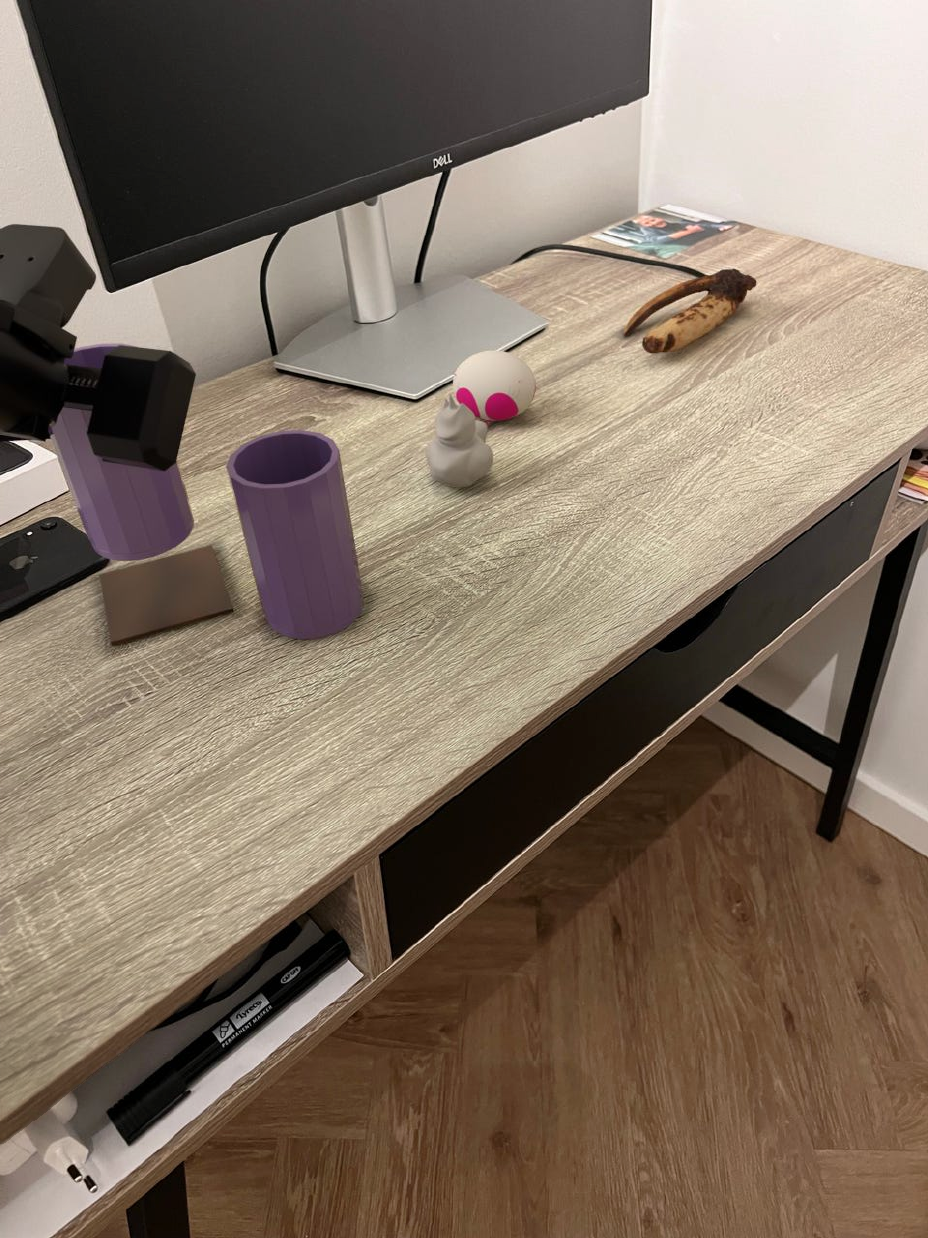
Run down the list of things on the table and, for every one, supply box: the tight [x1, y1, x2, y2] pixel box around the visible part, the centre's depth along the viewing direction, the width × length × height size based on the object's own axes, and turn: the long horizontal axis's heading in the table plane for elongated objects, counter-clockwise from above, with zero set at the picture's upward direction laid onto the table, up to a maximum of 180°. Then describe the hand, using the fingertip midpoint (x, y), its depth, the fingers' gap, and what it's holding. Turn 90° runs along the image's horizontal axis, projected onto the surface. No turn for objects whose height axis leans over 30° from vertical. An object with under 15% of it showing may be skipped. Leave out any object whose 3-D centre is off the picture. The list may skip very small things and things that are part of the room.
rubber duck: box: [426, 393, 494, 488], centre depth 77 cm, size 5×7×8 cm
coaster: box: [98, 544, 235, 647], centre depth 70 cm, size 8×8×1 cm
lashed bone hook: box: [622, 268, 757, 355], centre depth 97 cm, size 9×5×18 cm
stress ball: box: [452, 350, 537, 426], centre depth 86 cm, size 8×8×7 cm
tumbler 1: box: [48, 343, 195, 562], centre depth 63 cm, size 7×7×12 cm
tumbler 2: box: [225, 429, 364, 640], centre depth 64 cm, size 7×7×12 cm
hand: (128, 435), depth 63 cm, fingers closed on tumbler 1, 7 cm apart
